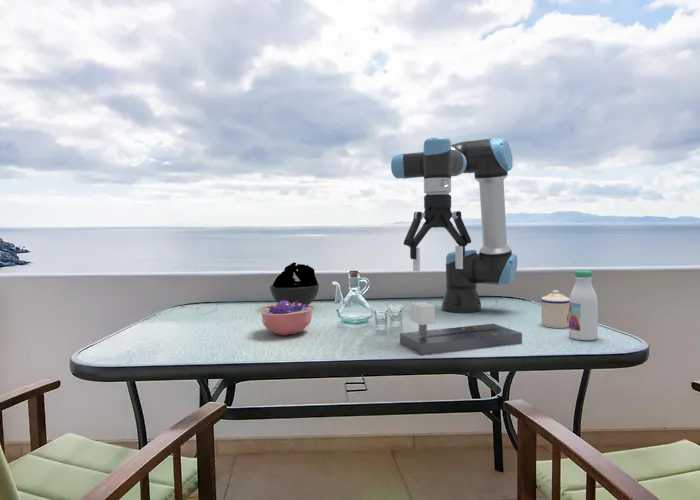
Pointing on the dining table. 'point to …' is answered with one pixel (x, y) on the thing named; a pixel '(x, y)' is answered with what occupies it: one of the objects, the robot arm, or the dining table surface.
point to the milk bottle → (583, 308)
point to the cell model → (286, 317)
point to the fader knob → (423, 316)
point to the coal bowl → (295, 285)
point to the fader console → (460, 338)
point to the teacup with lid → (555, 310)
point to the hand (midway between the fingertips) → (438, 270)
